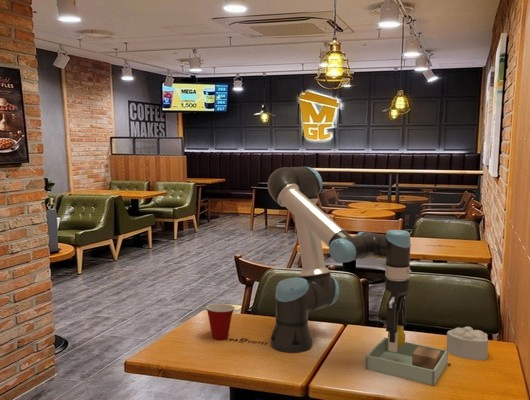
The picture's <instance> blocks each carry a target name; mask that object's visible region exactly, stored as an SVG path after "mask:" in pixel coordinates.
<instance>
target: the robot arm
mask: <svg viewBox="0 0 530 400" xmlns="http://www.w3.org/2000/svg"><path fill="white" fill-rule="evenodd" d="M322 189H323V179H322V176H321V175H320V173H319V172H318V171H317V170H316V169H315V168H313V167H310V166H291V167H290V166H289V167H286V166H285V167H284V166H283V167H280V168H277V169H275V170H274V171H273V172H272V173H271V174H270V175H269V177H268V180H267V190H268V193H269V195H270V196H271V198H272V199H273V201H275V203H276V204H278V205H279V206H280V207H283V208H284V207H285V208H286V209H287V210H288V211H289V212H290V213H291V214H293V215H294V221H295V227H296V234H297V241H298V246H299V253H300V260H301V268H302V271H301V272H300V273H299V277H297V276H296V277H288V278H284V279H281V280H280V281H279V282H277V284H276V288H275V292H274V296H275V322H274V323H275V324H274V328H273V330H272V333H271V335H270V346H271V348H272V349H275V350H277V351H278V352H279V351H280V352H284V353H302V352H305V351H306V352H307V351H308V350H310V349H311V348H312V347H313V337H312V336H313V335H312V333H311V330H310V329H311V328H310V326H309V313H312V312H314V311H317V310H321V309H326V308H328V307H329V306H331V305H334V304H335V303H336V302H337V300H338V299H339V295H340V285H339V283H338V280H337V279H336V278H335V277H334V276H333V275H331V274H332V273H331V270H330V269H329V268H328V267H326V264H325V263H326V261H325V256H324V251H323V250H324V249H323V243H324V244H325V245H326V246H327V247H328V254H329V255H330V258H331V259H332V261H334V262H336V263H340V264H341V263H350V262H352V261H357V260H361V259H366V258H370V257H375V258H382V259H385V273H384V275H385V277H386V278H385V281H384V282H385V284H384V288H385V291H387V292H389V293H390V295H389V298H388V300H387V301H386V329H385V332H387V333H388V332H389V343H388V351H392V352H396V353H397V345H398V332H397V325H398V326H400V327H401V328H402V329H403V330H404V327H405V326H407V322H406V320H407V319H406V318H407V317H406V316H407V310H406V309H407V296H408V295H407V293H408V292H409V291H410V279H409V278H410V273H412V270H411V269H410V267H411V264H410V260H411V247H412V244H411V234H410V232H409V231H408V230H403V229H389V230H387V231H386V233H385V234H380V233H373V232H370V231H367V232H366V231H360V232H357V234H355V235H353V236H352V235H350V234H349V233H348V231H346V230H345V229H343V228H342V226H340V225H339V224H338V223H337V222H335V221H334V219H332V218H331V217H330V216H329V215H328V214H326V212H324V211H323V210H322V209H320V207H318V205H316V204H317V203H318V201H319V199H320V198H319V194H320V193H321V192H322ZM322 242H323V243H322Z"/></svg>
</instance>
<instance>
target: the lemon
mask: <svg viewBox="0 0 530 400" xmlns="http://www.w3.org/2000/svg"><path fill="white" fill-rule="evenodd" d="M397 332H398V345H397V349H398V348H399V347H401V346H403V344H404V342H406V333H405V330H404V328H403V329H402V328H401V327H400V326H398V325H397ZM387 338H388V341H389V332H387Z"/></svg>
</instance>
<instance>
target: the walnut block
mask: <svg viewBox="0 0 530 400" xmlns="http://www.w3.org/2000/svg"><path fill="white" fill-rule="evenodd" d="M440 356H441V351H439V350H434V349H429V348H424V347H420V346H418V347H417V349H416V350H415V351H414V352H413V354H412V365H413V366H417V367H421V368H426V369H430V370H433V369H434V368H435V366H436V365H437V363H438V362H439V360H440Z"/></svg>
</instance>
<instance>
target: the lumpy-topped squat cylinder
mask: <svg viewBox="0 0 530 400" xmlns="http://www.w3.org/2000/svg"><path fill="white" fill-rule="evenodd" d="M488 336H489V335H488V334H487V333H485V332H484V331H482V330H479V329H473V327H471V326H465V327H464V326H463V327H455V328H454V329H450V330H448V331H447V332H446V347H445V350H448V354H451V355H453V356H455V357H459V358H462V359H467V360H475V361H485V360H488V352H489V348H488V347H489V339H488Z"/></svg>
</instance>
